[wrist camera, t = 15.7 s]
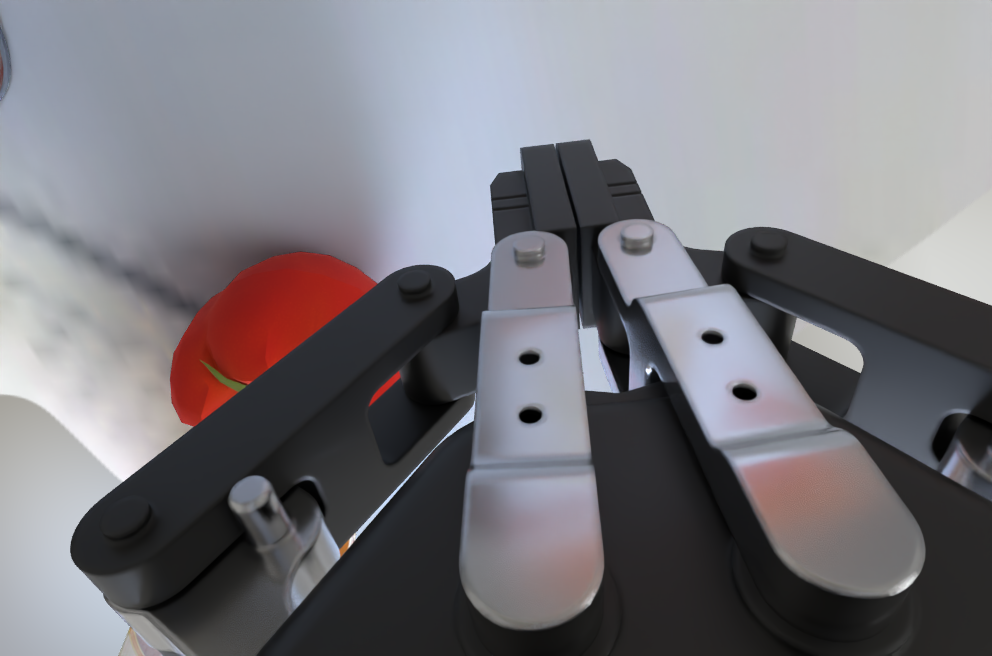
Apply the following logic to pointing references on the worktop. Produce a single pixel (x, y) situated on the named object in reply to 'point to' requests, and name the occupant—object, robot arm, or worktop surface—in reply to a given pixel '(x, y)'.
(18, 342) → the worktop surface
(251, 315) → the tomato
